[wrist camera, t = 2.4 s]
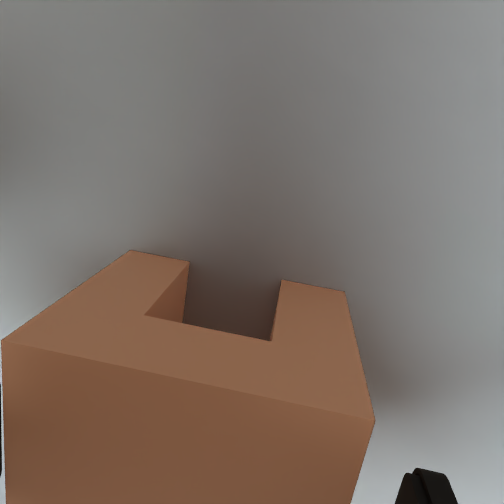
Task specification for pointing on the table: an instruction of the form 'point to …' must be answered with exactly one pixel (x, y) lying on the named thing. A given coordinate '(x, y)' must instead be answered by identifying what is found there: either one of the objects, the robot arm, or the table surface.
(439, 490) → the robot arm
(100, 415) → the clip
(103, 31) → the table surface
